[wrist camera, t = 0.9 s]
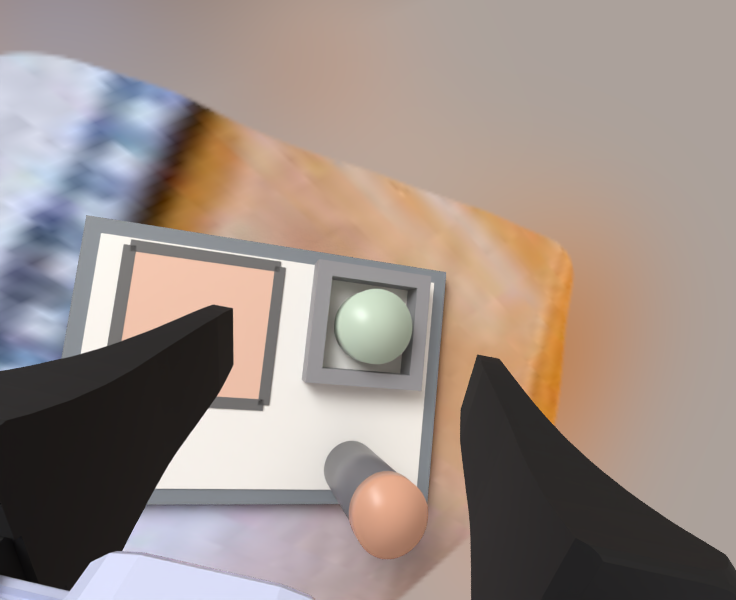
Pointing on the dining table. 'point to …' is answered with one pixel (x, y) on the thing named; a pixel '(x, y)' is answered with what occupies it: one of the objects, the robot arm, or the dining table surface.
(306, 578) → the dining table surface
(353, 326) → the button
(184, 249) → the board
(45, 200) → the dining table surface
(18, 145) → the dining table surface
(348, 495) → the marker
